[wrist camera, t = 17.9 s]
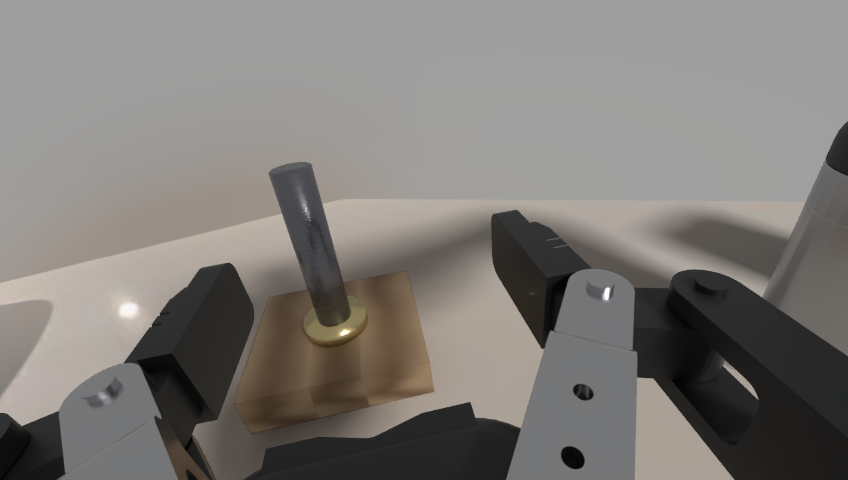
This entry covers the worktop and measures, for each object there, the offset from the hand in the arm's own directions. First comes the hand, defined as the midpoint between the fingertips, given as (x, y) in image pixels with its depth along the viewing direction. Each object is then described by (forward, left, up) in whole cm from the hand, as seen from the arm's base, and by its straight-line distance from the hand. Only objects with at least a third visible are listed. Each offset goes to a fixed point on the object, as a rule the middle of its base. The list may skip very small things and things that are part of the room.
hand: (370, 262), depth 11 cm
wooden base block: (+6, -18, -22) cm, 29 cm away
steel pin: (+6, -18, -22) cm, 29 cm away
